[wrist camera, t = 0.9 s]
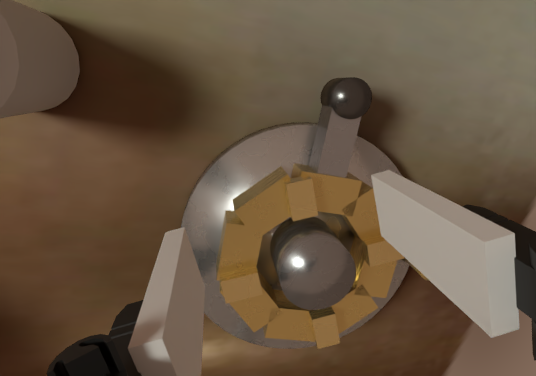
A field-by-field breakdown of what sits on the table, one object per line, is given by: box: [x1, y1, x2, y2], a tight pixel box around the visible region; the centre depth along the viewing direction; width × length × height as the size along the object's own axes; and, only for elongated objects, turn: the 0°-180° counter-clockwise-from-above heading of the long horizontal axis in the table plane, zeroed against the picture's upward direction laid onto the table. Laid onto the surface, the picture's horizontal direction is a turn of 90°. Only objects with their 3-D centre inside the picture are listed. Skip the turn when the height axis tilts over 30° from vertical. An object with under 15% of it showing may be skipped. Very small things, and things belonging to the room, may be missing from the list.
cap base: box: [181, 122, 430, 349], centre depth 33 cm, size 22×22×8 cm
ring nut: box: [216, 78, 405, 349], centre depth 31 cm, size 22×15×4 cm, turn 169°
